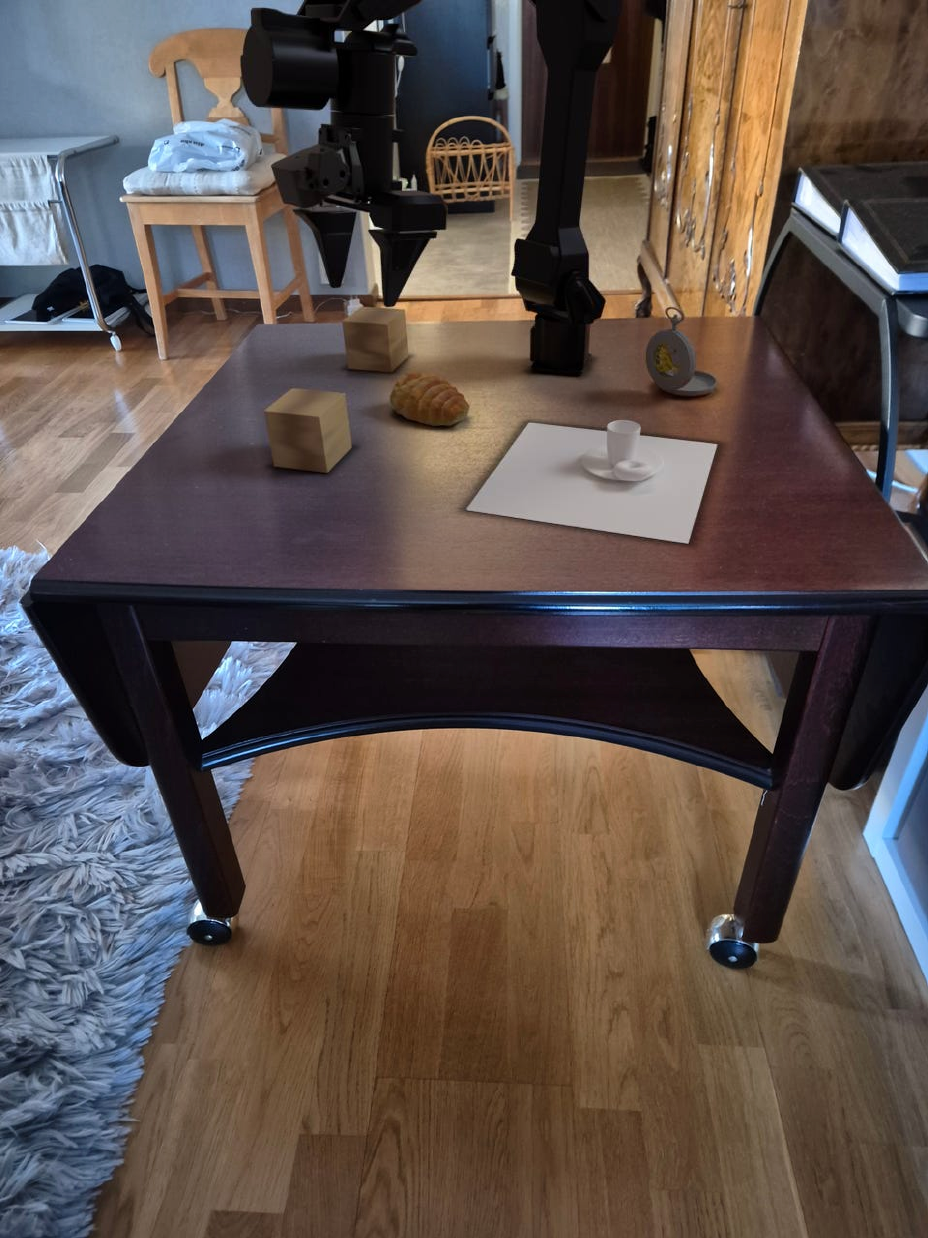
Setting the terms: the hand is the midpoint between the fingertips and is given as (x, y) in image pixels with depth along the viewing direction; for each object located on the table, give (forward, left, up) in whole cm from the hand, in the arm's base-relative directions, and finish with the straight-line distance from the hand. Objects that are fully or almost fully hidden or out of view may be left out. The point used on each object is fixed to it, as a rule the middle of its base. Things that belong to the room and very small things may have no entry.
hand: (361, 296), depth 84 cm
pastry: (-4, -6, -14) cm, 16 cm away
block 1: (+4, +8, -14) cm, 16 cm away
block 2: (+8, -19, -14) cm, 25 cm away
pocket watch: (-30, -18, -14) cm, 38 cm away
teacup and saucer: (-25, +5, -14) cm, 30 cm away
